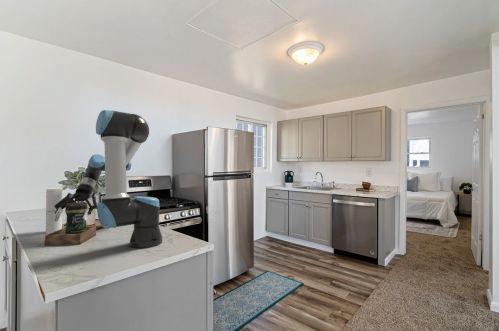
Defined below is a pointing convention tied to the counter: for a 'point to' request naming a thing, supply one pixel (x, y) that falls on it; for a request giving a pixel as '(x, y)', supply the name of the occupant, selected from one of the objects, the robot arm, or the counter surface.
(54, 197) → the cylindrical container
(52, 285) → the counter surface
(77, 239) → the cradle
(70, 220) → the coffee jar
